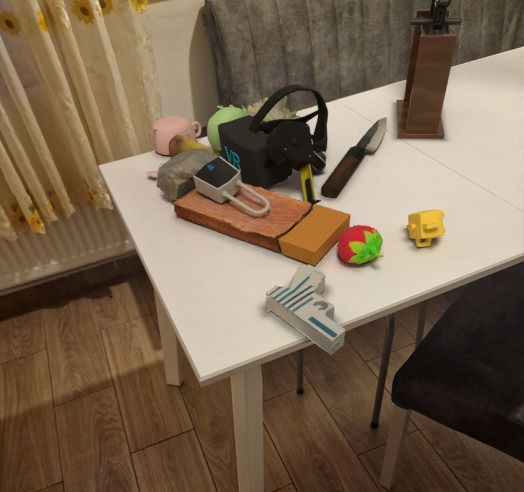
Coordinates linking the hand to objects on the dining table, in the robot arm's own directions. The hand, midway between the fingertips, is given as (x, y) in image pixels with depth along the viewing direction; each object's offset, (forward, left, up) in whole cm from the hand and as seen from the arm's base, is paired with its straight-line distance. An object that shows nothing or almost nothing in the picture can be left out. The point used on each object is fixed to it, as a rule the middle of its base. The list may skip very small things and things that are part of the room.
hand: (435, 23), depth 102 cm
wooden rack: (0, 0, -20) cm, 20 cm away
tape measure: (+22, +35, -14) cm, 43 cm away
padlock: (+41, +40, -13) cm, 58 cm away
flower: (+52, +30, -20) cm, 63 cm away
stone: (+47, +37, -20) cm, 63 cm away
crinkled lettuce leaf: (+28, 0, -17) cm, 33 cm away
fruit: (+53, +24, -16) cm, 61 cm away
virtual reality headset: (+29, +24, -20) cm, 42 cm away
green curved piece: (+38, +18, -11) cm, 44 cm away
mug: (+54, +16, -13) cm, 58 cm away
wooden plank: (+30, +46, -20) cm, 58 cm away
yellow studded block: (-1, +47, -17) cm, 50 cm away
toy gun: (+14, +64, -18) cm, 68 cm away
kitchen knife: (+13, +19, -20) cm, 30 cm away
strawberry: (+15, +50, -17) cm, 55 cm away
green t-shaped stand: (0, 0, -15) cm, 15 cm away
